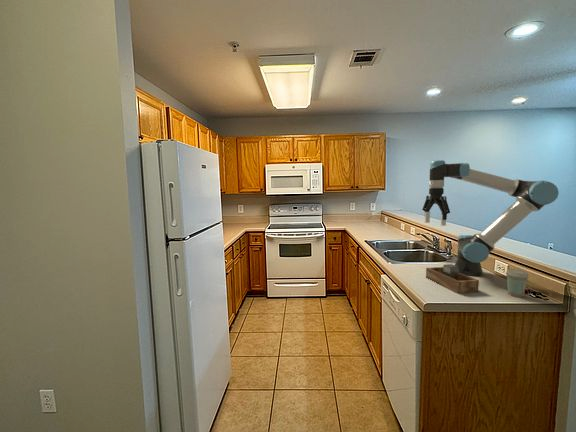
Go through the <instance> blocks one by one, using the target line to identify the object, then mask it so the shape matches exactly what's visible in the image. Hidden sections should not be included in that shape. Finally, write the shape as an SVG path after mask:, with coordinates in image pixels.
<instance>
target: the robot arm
mask: <svg viewBox="0 0 576 432" xmlns="http://www.w3.org/2000/svg"><path fill="white" fill-rule="evenodd" d="M445 178H452V179H456V180H461V181H464V182H467V183H470V184H475V185H478V186H481V187H485V188H489V189H493V190H495V191H498V192H499V191H500V192H503V193H506V194H508V196H511V197H514V198H515V199H516V201H515V202H513V204H511V205H510V206H509V207H508V208H506V210H505V211H503V212H502V214H500V215H499V216H497V218H496V219H495V220H493V221H492V222H491V223H490V224H489V225H488V226H487V227H485V228H484V229H483V230H482V231H481V232H480V233H475V234H473V235H472V234H471V235H470V234H459V235H458V237H457V253H456V254H457V255H456V257H457V258H456V260H455V263H454V265H455V266H458V267H459V273H461V274H464V275H466V276H469V277H471V276H473V277H474V276H475V277H476V276H477V277H478V276H482V275H483V273H484V272H483V270H484V269H482V264H481V263H482V262H484V261H486V260H487V259H488V257H489V254H490V253H491V252H492V251H493V250H494V249H495V245H496V244H497V243H498V242H499V241H500V240H501V239H502V238H504V237H505V236H506V235H507V234H508V233H510V231H512V230H514V228H515V227H516V226H517V225H519V224H520V223H521V222H522V221H523V220H524V219H525V218H526V217H528V216H529V215H530V214H531V213H532V212H539V211H540V210H541V209H542V208H544V207H545V206H546V205H550V204H551V203H554V202H555V201H556V200H557V199H558V197H559V194H560V192H559V189H558V187H557V185H555V184H554V183H553V182H551V181H548V180H533V181H532V180H530V181H529V180H522V179H518V178H517V179H509V178H507V177H503V176H499V175H495V174H492V173H487V172H484V171H480V170H477V169H472V168H471V167H470V163H466V162H460V163H459V162H458V163H446V161H445V160H443V159H442V160H432V161H430V163H429V187H428V188H429V189H428V194H429V195H426V196H425V200H424V204H423V207H422V211H424V223H426V224H427V223H428V224H429V223H430V222H431V221H430V219H431V212H430V211H431V209H432V208H433V206H434V204H435V205H437V206H438V208H439V209H440V212H441V214H440V226H441V227H444V226H446V225H447V217H448V216H447V215H448V214H450V213H451V210H450V208H449V203H448V201H447V199H448V198H447V196H446V195H445V196H443V195H444V192H445V191H444V190H445V189H444V187H445Z"/></svg>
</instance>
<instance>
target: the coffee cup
mask: <svg viewBox="0 0 576 432" xmlns="http://www.w3.org/2000/svg"><path fill="white" fill-rule="evenodd" d="M505 274H506V281H507V282H506V283H507V284H506V285H507V286H506V287H507V294H508V295H509V296H511V297H515V298H523V297H524V295H525V291H526V287H527V284H528V283H527V282H528V278H530V276H529V273H528V271H526V270H523V269H518V268H508V269H507V270H506V273H505Z"/></svg>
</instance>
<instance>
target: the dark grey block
mask: <svg viewBox="0 0 576 432" xmlns="http://www.w3.org/2000/svg"><path fill="white" fill-rule="evenodd" d="M442 267H443V274H444V275H446V276H448V277H451V278H453V279H455V280H458V272H459V267H458V266H455V264H453V263H450V264H448V263H447V264H443V266H442Z"/></svg>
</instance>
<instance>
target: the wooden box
mask: <svg viewBox="0 0 576 432" xmlns="http://www.w3.org/2000/svg"><path fill="white" fill-rule="evenodd" d="M443 267H444V266H436V267H426V268H425V270H426V271H425V278H426V279H427V278H428V279H427V280H429V279H430V280H429V281H431V280H432V282H433V281H434V282H433V283H435V282H436V283H435V284H437V285H440V286H442V287H443V288H446V289H447V290H450V291H452V292H454V293H455V294H457V295H459V294H470V293H471V294H472V293H479V285H480V284H479V283H480V280H479V279H476V278H473V277H471V276H470V275H464V274H461V273H459V272H458V280H455V279H453V278H451V277H448V276H446V275H444V274H443Z"/></svg>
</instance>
